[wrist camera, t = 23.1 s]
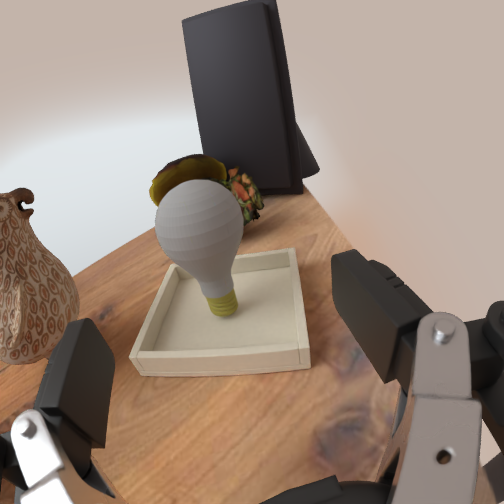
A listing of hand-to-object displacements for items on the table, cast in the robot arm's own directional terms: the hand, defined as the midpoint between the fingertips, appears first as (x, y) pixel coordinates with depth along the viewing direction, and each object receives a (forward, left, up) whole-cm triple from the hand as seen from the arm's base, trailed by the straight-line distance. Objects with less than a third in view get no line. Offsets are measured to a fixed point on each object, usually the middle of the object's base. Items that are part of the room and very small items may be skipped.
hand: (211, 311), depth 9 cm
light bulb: (+3, -10, -9) cm, 13 cm away
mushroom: (+5, -22, -10) cm, 25 cm away
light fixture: (-1, -44, -9) cm, 44 cm away
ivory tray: (+3, -10, -9) cm, 13 cm away
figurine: (+17, -5, -9) cm, 20 cm away
